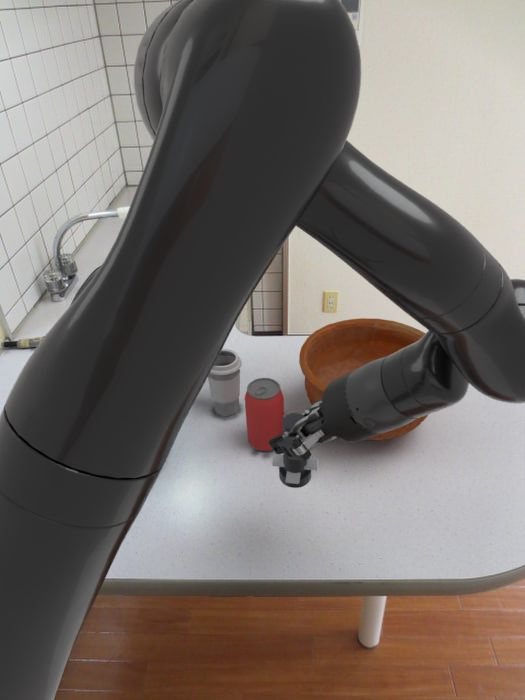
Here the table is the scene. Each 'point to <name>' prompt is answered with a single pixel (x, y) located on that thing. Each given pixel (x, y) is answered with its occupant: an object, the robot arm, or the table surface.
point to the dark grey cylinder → (294, 470)
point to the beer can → (264, 412)
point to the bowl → (353, 355)
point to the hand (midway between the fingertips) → (282, 438)
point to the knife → (23, 343)
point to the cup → (225, 382)
